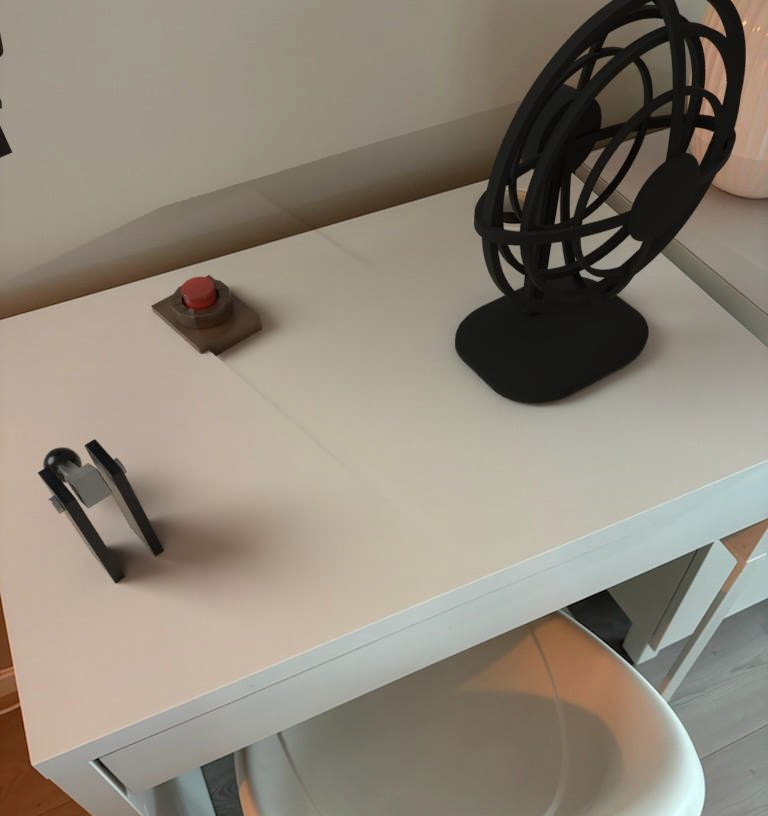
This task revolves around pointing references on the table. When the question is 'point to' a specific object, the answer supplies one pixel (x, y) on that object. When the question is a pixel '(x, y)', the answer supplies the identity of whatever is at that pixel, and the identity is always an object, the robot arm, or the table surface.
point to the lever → (78, 475)
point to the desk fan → (553, 165)
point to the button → (199, 293)
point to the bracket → (124, 498)
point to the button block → (210, 320)
